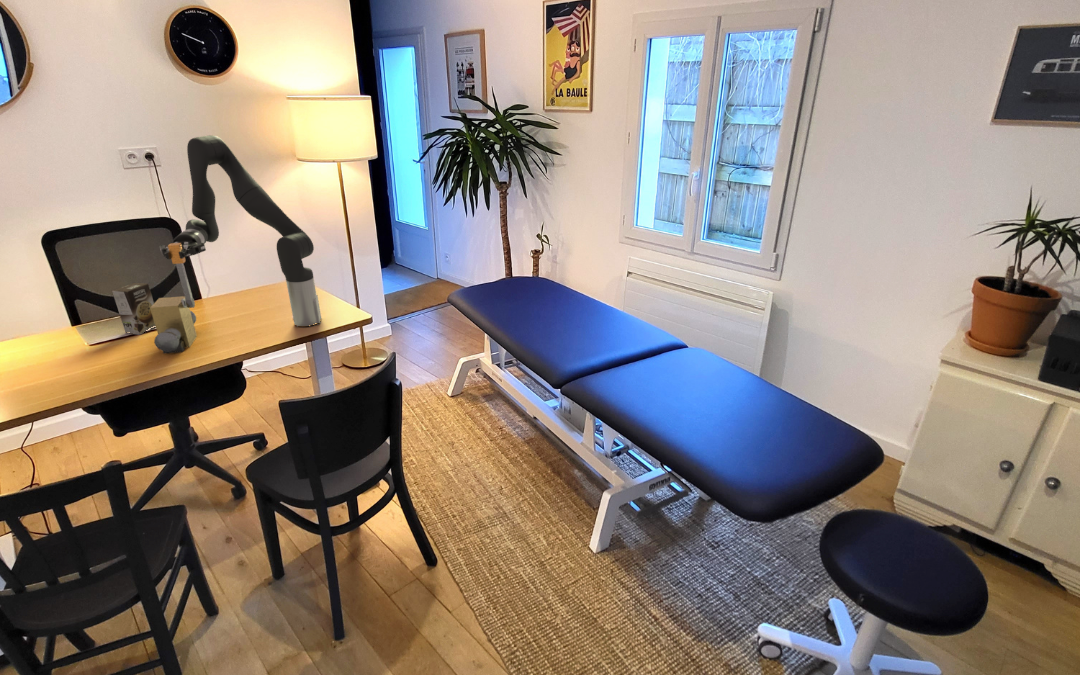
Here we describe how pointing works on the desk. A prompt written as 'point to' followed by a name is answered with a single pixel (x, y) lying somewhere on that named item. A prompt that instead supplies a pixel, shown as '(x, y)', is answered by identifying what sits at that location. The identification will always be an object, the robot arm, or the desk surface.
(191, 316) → the block
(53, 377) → the desk surface
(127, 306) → the coffee box
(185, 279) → the lever
